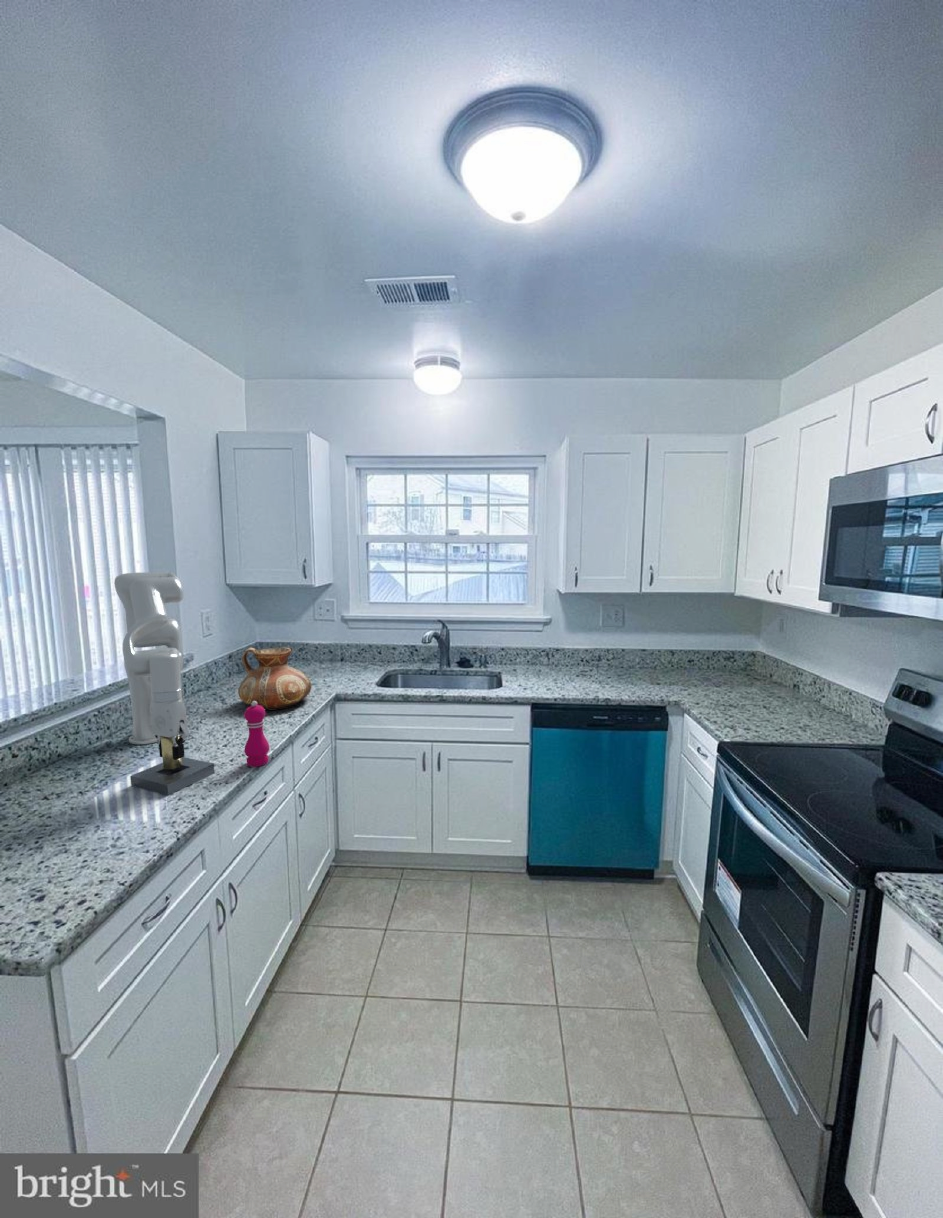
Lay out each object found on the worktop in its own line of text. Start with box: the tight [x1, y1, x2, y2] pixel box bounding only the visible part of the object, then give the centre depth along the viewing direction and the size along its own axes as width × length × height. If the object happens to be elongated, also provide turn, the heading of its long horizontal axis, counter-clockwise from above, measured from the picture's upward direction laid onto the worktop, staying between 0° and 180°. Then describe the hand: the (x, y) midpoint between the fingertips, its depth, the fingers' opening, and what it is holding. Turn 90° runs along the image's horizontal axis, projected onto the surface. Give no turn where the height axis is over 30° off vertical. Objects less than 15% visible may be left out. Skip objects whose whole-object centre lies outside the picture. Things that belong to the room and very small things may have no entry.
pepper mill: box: [243, 701, 270, 768], centre depth 159 cm, size 7×7×20 cm
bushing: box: [161, 733, 182, 769], centre depth 148 cm, size 5×5×9 cm
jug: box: [237, 647, 312, 711], centre depth 221 cm, size 30×30×25 cm
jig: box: [130, 756, 215, 796], centre depth 149 cm, size 15×15×3 cm
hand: (172, 756), depth 148 cm, fingers closed on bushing, 4 cm apart
